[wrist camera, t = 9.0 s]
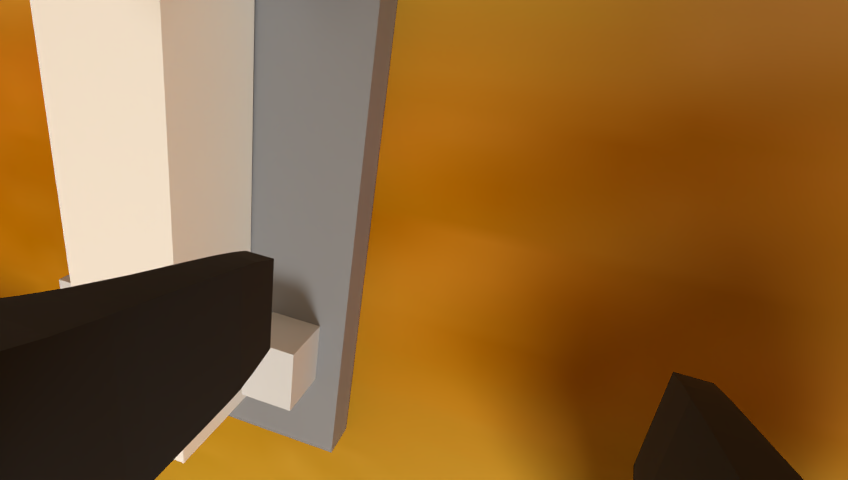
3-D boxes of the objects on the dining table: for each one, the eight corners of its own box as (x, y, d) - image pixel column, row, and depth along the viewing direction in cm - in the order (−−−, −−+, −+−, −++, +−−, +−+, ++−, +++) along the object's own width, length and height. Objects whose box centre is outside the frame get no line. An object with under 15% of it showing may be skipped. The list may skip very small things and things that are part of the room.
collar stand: (345, 428, 24) (308, 488, 20) (121, 350, 26) (57, 394, 23) (428, -263, 14) (383, -348, 11) (60, -284, 16) (-65, -360, 13)
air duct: (249, 393, 22) (183, 464, 19) (167, 365, 23) (89, 428, 20) (261, -232, 14) (143, -326, 10) (129, -243, 15) (-22, -332, 11)
